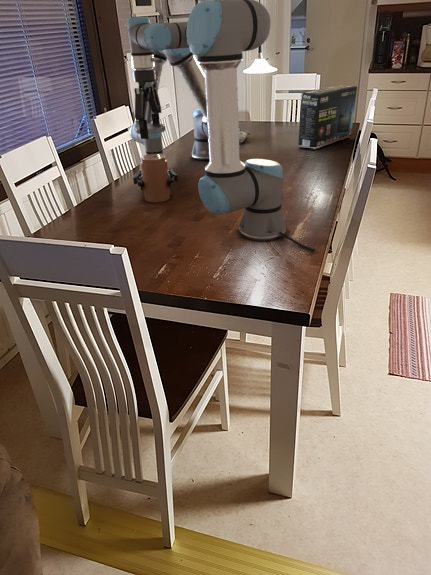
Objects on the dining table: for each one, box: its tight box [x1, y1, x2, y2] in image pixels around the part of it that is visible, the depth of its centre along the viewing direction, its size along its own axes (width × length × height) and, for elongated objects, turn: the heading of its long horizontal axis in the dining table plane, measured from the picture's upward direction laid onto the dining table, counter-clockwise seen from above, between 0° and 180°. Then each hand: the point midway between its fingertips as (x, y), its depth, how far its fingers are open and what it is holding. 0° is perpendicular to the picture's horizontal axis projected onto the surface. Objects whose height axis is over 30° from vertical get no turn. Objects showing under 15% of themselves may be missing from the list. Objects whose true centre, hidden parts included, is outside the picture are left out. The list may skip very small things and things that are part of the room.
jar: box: [139, 154, 171, 203], centre depth 177 cm, size 10×10×16 cm
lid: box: [135, 123, 166, 134], centre depth 167 cm, size 11×11×2 cm
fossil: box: [239, 127, 251, 145], centre depth 256 cm, size 18×11×15 cm
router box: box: [297, 84, 358, 151], centre depth 238 cm, size 36×11×27 cm, turn 134°
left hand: (155, 185), depth 174 cm, fingers closed on jar, 10 cm apart
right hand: (151, 135), depth 169 cm, fingers closed on lid, 11 cm apart
